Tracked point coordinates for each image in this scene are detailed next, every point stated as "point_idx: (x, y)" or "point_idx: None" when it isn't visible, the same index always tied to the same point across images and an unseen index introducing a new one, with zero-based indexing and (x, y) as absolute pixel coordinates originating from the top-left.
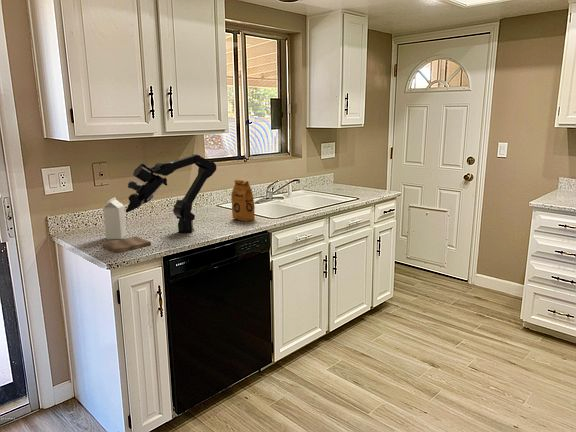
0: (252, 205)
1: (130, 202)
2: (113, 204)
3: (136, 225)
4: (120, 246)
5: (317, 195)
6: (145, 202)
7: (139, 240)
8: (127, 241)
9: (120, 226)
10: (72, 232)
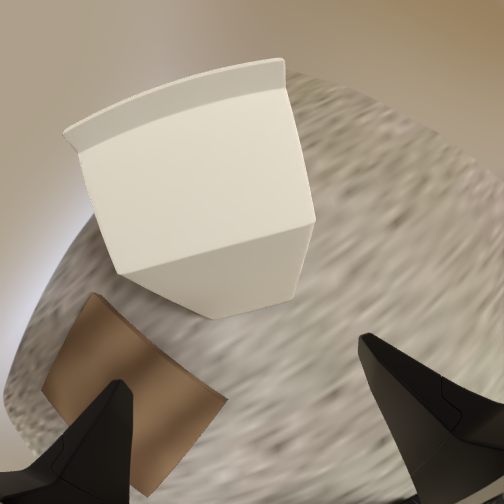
0: None
1: (32, 477)
2: (92, 201)
3: (459, 229)
4: (67, 396)
5: None
6: (420, 494)
7: (151, 449)
8: None
9: (192, 310)
10: None
